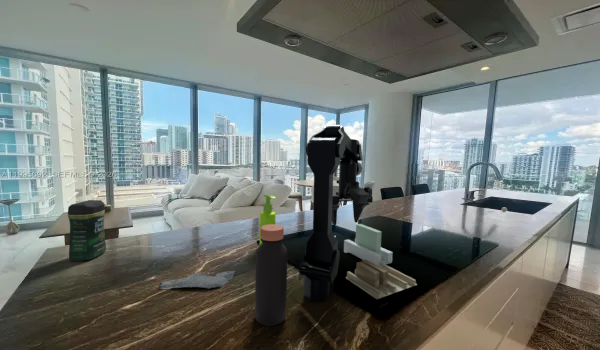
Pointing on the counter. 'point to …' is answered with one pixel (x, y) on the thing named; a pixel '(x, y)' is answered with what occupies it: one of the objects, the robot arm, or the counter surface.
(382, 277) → the middle offcut
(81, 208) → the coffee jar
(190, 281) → the stone slab
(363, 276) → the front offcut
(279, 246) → the bottle
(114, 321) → the counter surface
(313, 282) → the robot arm
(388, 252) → the grey slotted stand
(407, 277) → the birch rack
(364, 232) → the green sheet
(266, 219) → the soap dispenser
